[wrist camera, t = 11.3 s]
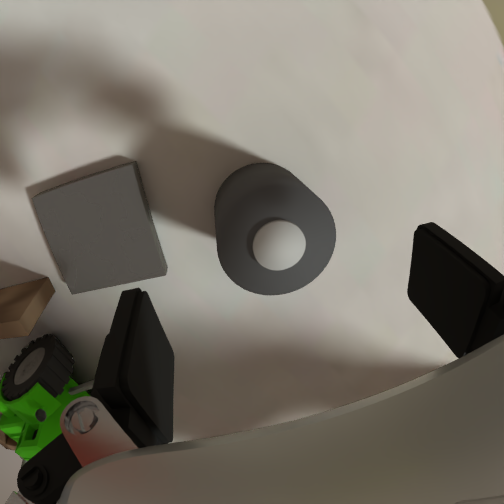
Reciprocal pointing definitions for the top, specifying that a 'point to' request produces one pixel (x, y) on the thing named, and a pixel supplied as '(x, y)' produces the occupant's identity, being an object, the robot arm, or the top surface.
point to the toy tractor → (38, 395)
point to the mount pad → (101, 230)
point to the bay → (21, 318)
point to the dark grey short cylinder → (271, 230)
